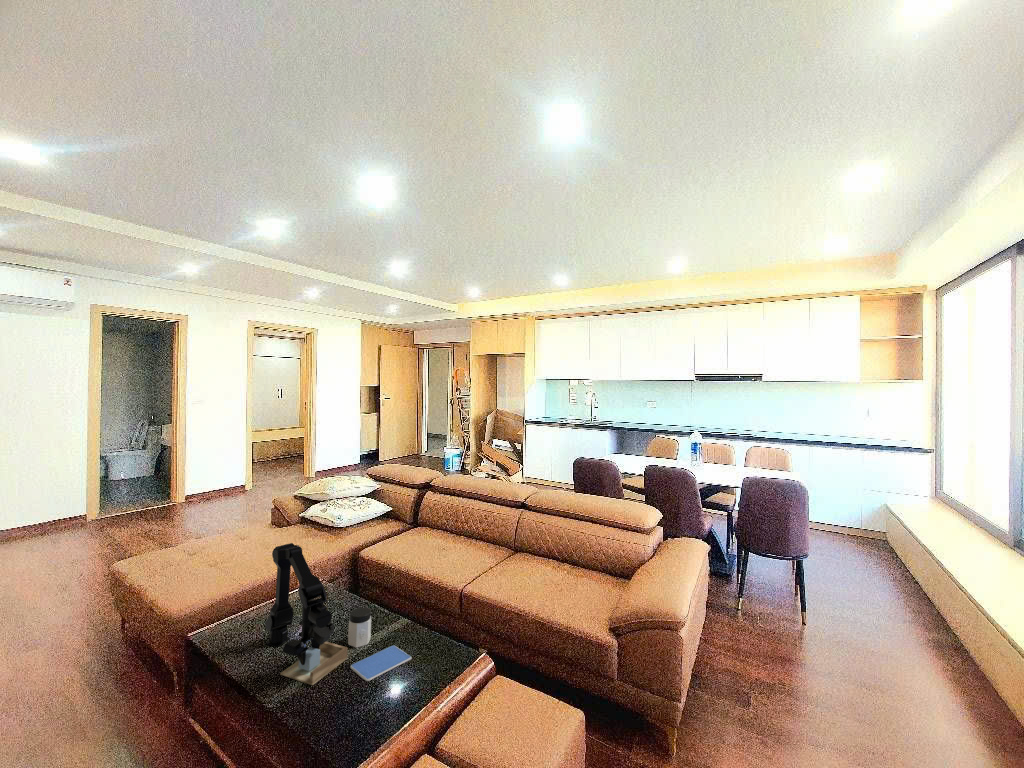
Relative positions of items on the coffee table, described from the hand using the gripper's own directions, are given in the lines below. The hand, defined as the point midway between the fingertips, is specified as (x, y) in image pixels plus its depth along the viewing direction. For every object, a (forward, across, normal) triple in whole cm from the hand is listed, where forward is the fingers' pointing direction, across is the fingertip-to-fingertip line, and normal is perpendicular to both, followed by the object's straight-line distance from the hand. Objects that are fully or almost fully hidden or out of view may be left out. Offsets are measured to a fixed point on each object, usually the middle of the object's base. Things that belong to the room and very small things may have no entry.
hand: (308, 660), depth 160 cm
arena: (+3, +2, -1) cm, 4 cm away
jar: (+4, +22, -4) cm, 23 cm away
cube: (+2, 0, 0) cm, 2 cm away
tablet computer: (+4, +14, -22) cm, 26 cm away
